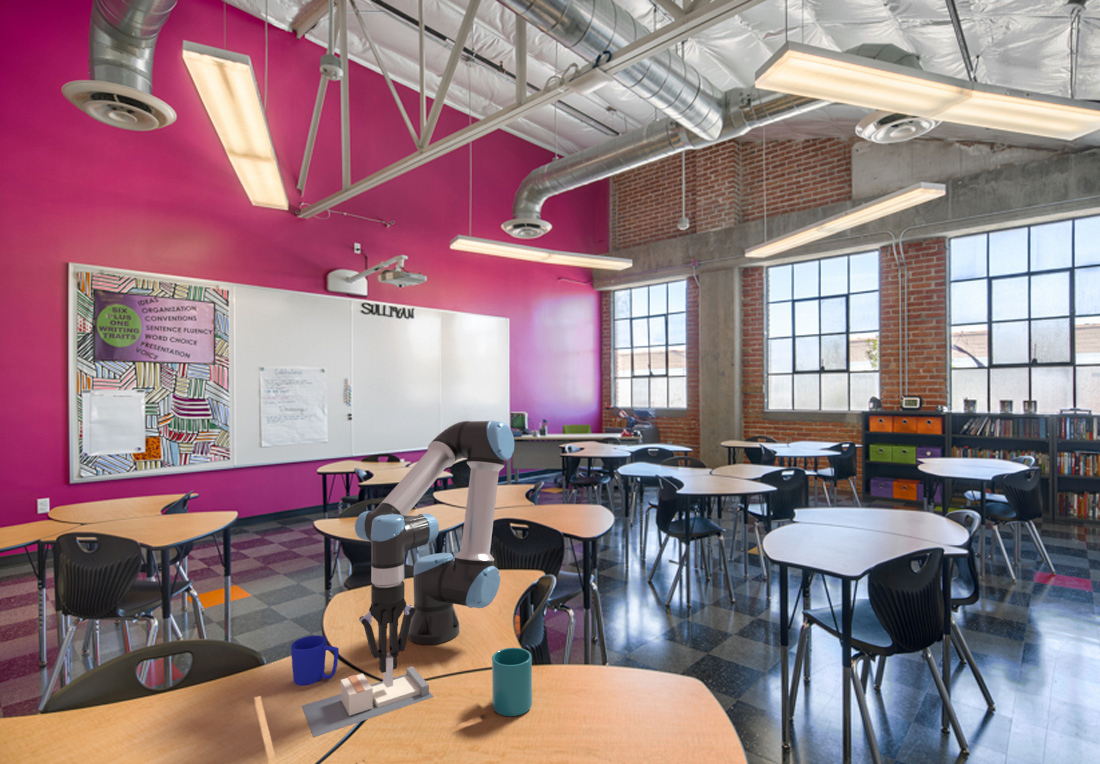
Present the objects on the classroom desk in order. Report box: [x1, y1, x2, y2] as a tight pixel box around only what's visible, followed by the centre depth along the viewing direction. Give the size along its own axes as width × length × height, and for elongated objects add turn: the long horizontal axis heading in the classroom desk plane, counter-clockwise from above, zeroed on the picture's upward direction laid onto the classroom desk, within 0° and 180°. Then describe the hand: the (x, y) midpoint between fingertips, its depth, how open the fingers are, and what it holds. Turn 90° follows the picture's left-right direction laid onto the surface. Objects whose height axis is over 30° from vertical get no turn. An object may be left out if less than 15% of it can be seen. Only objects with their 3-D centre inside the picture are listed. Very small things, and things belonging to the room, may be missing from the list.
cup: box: [491, 647, 533, 717], centre depth 124 cm, size 9×12×11 cm
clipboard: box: [301, 665, 434, 738], centre depth 123 cm, size 26×14×3 cm, turn 124°
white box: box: [340, 673, 373, 716], centre depth 122 cm, size 5×8×5 cm, turn 34°
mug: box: [290, 635, 340, 686], centre depth 134 cm, size 8×12×10 cm
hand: (388, 684), depth 126 cm, fingers closed
